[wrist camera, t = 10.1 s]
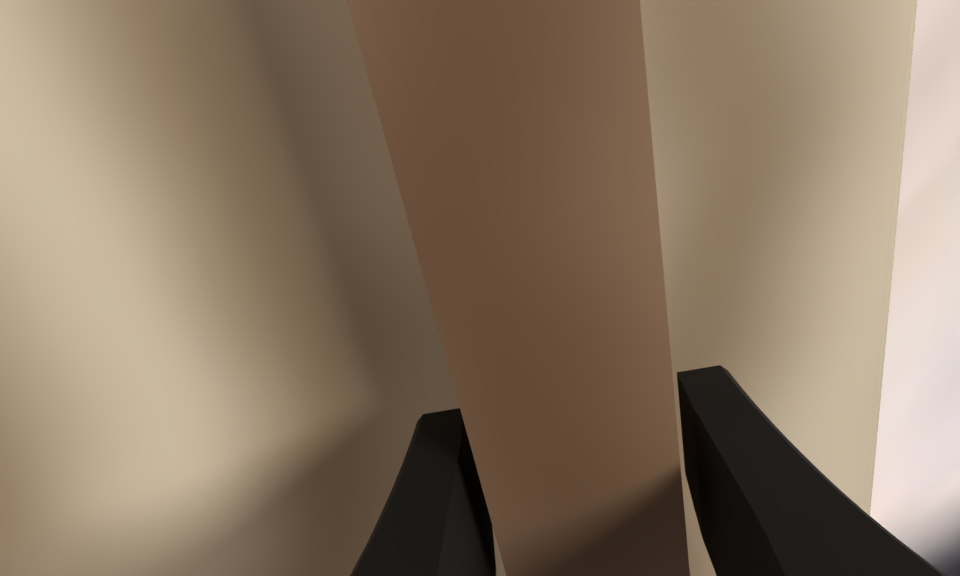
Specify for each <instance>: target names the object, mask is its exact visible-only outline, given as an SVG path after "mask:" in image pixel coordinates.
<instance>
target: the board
mask: <svg viewBox="0 0 960 576" xmlns="http://www.w3.org/2000/svg"><path fill="white" fill-rule="evenodd" d="M640 8H641V19H642V30H643V42H644V53H645V65H646V76H647V88H648V99H649V111H650V122H651V134H652V145H653V157H654V168H655V179H656V191H657V202H658V214H659V225H660V237H661V248H662V260H663V271H664V283H665V294H666V305H667V317H668V328H669V340H670V351H671V363H672V374H673V386H674V397H675V409H676V420H677V431H678V443H679V454H680V466H681V477H682V489H683V500H684V512H685V523H686V535H687V546H688V558H689V569H690V576H717V575H716V573H715V570H714V568H713V565H712V562H711V560H710V557H709V555H708V552H707V549H706V547H705V544H704V541H703V539H702V535H701V531H700V528H699V524H698V520H697V517H696V513H695V509H694V505H693V501H692V498H691V494H690V490H689V486H688V482H687V478H686V474H685V465H684V454H683V442H682V430H681V418H680V406H679V394H678V382H677V372H681V371H687V370H693V369H700V368H706V367H712V366H718V365H721V366H722V367H724V368H725V369H727V370H728V371H729V372H730V374H731V375H732V376H733V377H734V379H735V380H736V381H737V382H738V384H739V385H740V386H741V387H742V389H743V390H744V391H745V392H746V393H747V395H748V396H749V397H750V398H751V399H752V400H753V402H754V403H755V404H756V405H757V406H758V407H759V408H760V410H761V411H762V412H763V413H764V414H765V415H766V416H767V417H768V418H769V419H770V421H771V422H772V423H773V424H774V425H775V426H776V427H777V428H778V429H779V430H780V431H781V432H782V433H783V434H784V436H785V437H786V438H787V439H788V440H789V441H790V442H791V443H792V444H793V445H794V446H795V447H796V448H797V449H798V450H799V451H800V452H801V453H802V454H803V455H804V456H805V457H806V458H807V459H808V460H809V461H810V462H811V463H812V464H813V465H814V466H815V467H816V468H818V469H819V470H820V471H821V472H822V473H823V474H824V475H825V476H826V477H827V478H828V479H829V480H830V481H831V482H832V483H833V484H834V485H835V486H837V487H838V488H839V489H840V490H841V491H842V492H843V493H844V494H845V495H847V496H848V497H849V498H850V499H851V500H852V501H853V502H854V503H856V504H857V505H858V506H859V507H860V508H861V509H862V510H864V511H865V512H866V513H867V514H868V515H869V516H870V507H871V496H872V486H873V475H874V464H875V453H876V442H877V431H878V420H879V410H880V399H881V388H882V377H883V366H884V355H885V344H886V334H887V323H888V312H889V301H890V290H891V279H892V268H893V258H894V247H895V236H896V225H897V214H898V203H899V192H900V182H901V171H902V160H903V149H904V138H905V127H906V116H907V106H908V95H909V84H910V73H911V62H912V51H913V40H914V30H915V19H916V8H917V0H640ZM457 408H460V407H459V403H458V399H457V396H456V392H455V388H454V385H453V381H452V378H451V374H450V370H449V367H448V363H447V360H446V356H445V352H444V349H443V345H442V341H441V338H440V334H439V331H438V327H437V323H436V320H435V316H434V313H433V309H432V305H431V302H430V298H429V295H428V291H427V287H426V284H425V280H424V276H423V273H422V269H421V266H420V262H419V258H418V255H417V251H416V248H415V244H414V240H413V237H412V233H411V229H410V226H409V222H408V219H407V215H406V211H405V208H404V204H403V201H402V197H401V193H400V190H399V186H398V183H397V179H396V175H395V172H394V168H393V164H392V161H391V157H390V154H389V150H388V146H387V143H386V139H385V136H384V132H383V128H382V125H381V121H380V117H379V114H378V110H377V107H376V103H375V99H374V96H373V92H372V89H371V85H370V81H369V78H368V74H367V71H366V67H365V63H364V60H363V56H362V52H361V49H360V45H359V42H358V38H357V34H356V31H355V27H354V24H353V20H352V16H351V13H350V9H349V6H348V2H347V0H0V576H350V575H351V573H352V571H353V569H354V567H355V565H356V563H357V561H358V560H359V558H360V556H361V554H362V552H363V550H364V548H365V546H366V544H367V542H368V540H369V538H370V536H371V534H372V532H373V530H374V528H375V526H376V523H377V521H378V519H379V517H380V515H381V512H382V510H383V508H384V506H385V504H386V501H387V499H388V497H389V495H390V493H391V490H392V488H393V486H394V483H395V481H396V478H397V476H398V473H399V471H400V468H401V466H402V463H403V461H404V458H405V456H406V453H407V450H408V447H409V445H410V442H411V439H412V436H413V433H414V430H415V427H416V424H417V421H418V420H419V419H420V417H421V416H422V415H423V414H427V413H433V412H439V411H445V410H451V409H457ZM492 528H493V526H492ZM493 538H494V550H495V561H496V576H506V573H505V569H504V565H503V562H502V558H501V555H500V551H499V547H498V544H497V540H496V537H495V533H494V529H493Z"/></svg>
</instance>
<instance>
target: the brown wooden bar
mask: <svg viewBox="0 0 960 576" xmlns="http://www.w3.org/2000/svg"><path fill="white" fill-rule="evenodd" d="M347 2H348V6H349V9H350V13H351V16H352V20H353V24H354V27H355V31H356V34H357V38H358V42H359V45H360V49H361V52H362V56H363V60H364V63H365V67H366V71H367V74H368V78H369V81H370V85H371V89H372V92H373V96H374V99H375V103H376V107H377V110H378V114H379V117H380V121H381V125H382V128H383V132H384V136H385V139H386V143H387V146H388V150H389V154H390V157H391V161H392V164H393V168H394V172H395V175H396V179H397V183H398V186H399V190H400V193H401V197H402V201H403V204H404V208H405V211H406V215H407V219H408V222H409V226H410V229H411V233H412V237H413V240H414V244H415V248H416V251H417V255H418V258H419V262H420V266H421V269H422V273H423V276H424V280H425V284H426V287H427V291H428V295H429V298H430V302H431V305H432V309H433V313H434V316H435V320H436V323H437V327H438V331H439V334H440V338H441V341H442V345H443V349H444V352H445V356H446V360H447V363H448V367H449V370H450V374H451V378H452V381H453V385H454V388H455V392H456V396H457V399H458V403H459V407H460V410H461V414H462V417H463V421H464V425H465V428H466V432H467V435H468V439H469V443H470V446H471V450H472V453H473V457H474V461H475V464H476V468H477V472H478V475H479V479H480V482H481V486H482V490H483V493H484V497H485V500H486V504H487V508H488V511H489V515H490V519H491V522H492V526H493V529H494V533H495V537H496V540H497V544H498V547H499V551H500V555H501V558H502V562H503V565H504V569H505V573H506V576H690V569H689V558H688V546H687V535H686V523H685V512H684V500H683V489H682V477H681V466H680V454H679V443H678V431H677V420H676V409H675V397H674V386H673V374H672V363H671V351H670V340H669V328H668V317H667V305H666V294H665V283H664V271H663V260H662V248H661V237H660V225H659V214H658V202H657V191H656V179H655V168H654V157H653V145H652V134H651V122H650V111H649V99H648V88H647V76H646V65H645V53H644V42H643V30H642V19H641V8H640V0H347Z"/></svg>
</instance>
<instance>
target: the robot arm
mask: <svg viewBox="0 0 960 576" xmlns="http://www.w3.org/2000/svg"><path fill="white" fill-rule="evenodd" d="M677 382H678V394H679V406H680V418H681V430H682V442H683V454H684V465H685V474H686V478H687V482H688V486H689V490H690V494H691V498H692V501H693V505H694V509H695V513H696V517H697V520H698V524H699V528H700V531H701V535H702V539H703V541H704V544H705V547H706V549H707V552H708V555H709V557H710V560H711V562H712V565H713V568H714V570H715V573H716V575H717V576H946V575H945V574H943V573H942V572H940V571H939V570H938V569H936V568H935V567H933V566H932V565H931V564H929V563H928V562H927V561H926V560H924V559H923V558H922V557H920V556H919V555H918V554H916V553H915V552H914V551H912V550H911V549H910V548H909V547H907V546H906V545H905V544H903V543H902V542H901V541H900V540H898V539H897V538H896V537H895V536H893V535H892V534H891V533H890V532H888V531H887V530H886V529H885V528H884V527H882V526H881V525H880V524H879V523H878V522H876V521H875V520H874V519H873V518H872V517H870V516H869V515H868V514H867V513H866V512H865V511H864V510H862V509H861V508H860V507H859V506H858V505H857V504H856V503H854V502H853V501H852V500H851V499H850V498H849V497H848V496H847V495H845V494H844V493H843V492H842V491H841V490H840V489H839V488H838V487H837V486H835V485H834V484H833V483H832V482H831V481H830V480H829V479H828V478H827V477H826V476H825V475H824V474H823V473H822V472H821V471H820V470H819V469H818V468H816V467H815V466H814V465H813V464H812V463H811V462H810V461H809V460H808V459H807V458H806V457H805V456H804V455H803V454H802V453H801V452H800V451H799V450H798V449H797V448H796V447H795V446H794V445H793V444H792V443H791V442H790V441H789V440H788V439H787V438H786V437H785V436H784V434H783V433H782V432H781V431H780V430H779V429H778V428H777V427H776V426H775V425H774V424H773V423H772V422H771V421H770V419H769V418H768V417H767V416H766V415H765V414H764V413H763V412H762V411H761V410H760V408H759V407H758V406H757V405H756V404H755V403H754V402H753V400H752V399H751V398H750V397H749V396H748V395H747V393H746V392H745V391H744V390H743V389H742V387H741V386H740V385H739V384H738V382H737V381H736V380H735V379H734V377H733V376H732V375H731V374H730V372H729V371H728V370H727V369H725V368H724V367H722V366H721V365H718V366H712V367H706V368H700V369H693V370H687V371H681V372H677ZM350 576H496V561H495V550H494V538H493V528H492V522H491V519H490V515H489V511H488V508H487V504H486V500H485V497H484V493H483V490H482V486H481V482H480V479H479V475H478V472H477V468H476V464H475V461H474V457H473V453H472V450H471V446H470V443H469V439H468V435H467V432H466V428H465V425H464V421H463V417H462V414H461V410H460V408H457V409H451V410H445V411H439V412H433V413H427V414H423V415H422V416H421V417H420V419H419V420H418V421H417V424H416V427H415V430H414V433H413V436H412V439H411V442H410V445H409V447H408V450H407V453H406V456H405V458H404V461H403V463H402V466H401V468H400V471H399V473H398V476H397V478H396V481H395V483H394V486H393V488H392V490H391V493H390V495H389V497H388V499H387V501H386V504H385V506H384V508H383V510H382V512H381V515H380V517H379V519H378V521H377V523H376V526H375V528H374V530H373V532H372V534H371V536H370V538H369V540H368V542H367V544H366V546H365V548H364V550H363V552H362V554H361V556H360V558H359V560H358V561H357V563H356V565H355V567H354V569H353V571H352V573H351V575H350Z"/></svg>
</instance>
